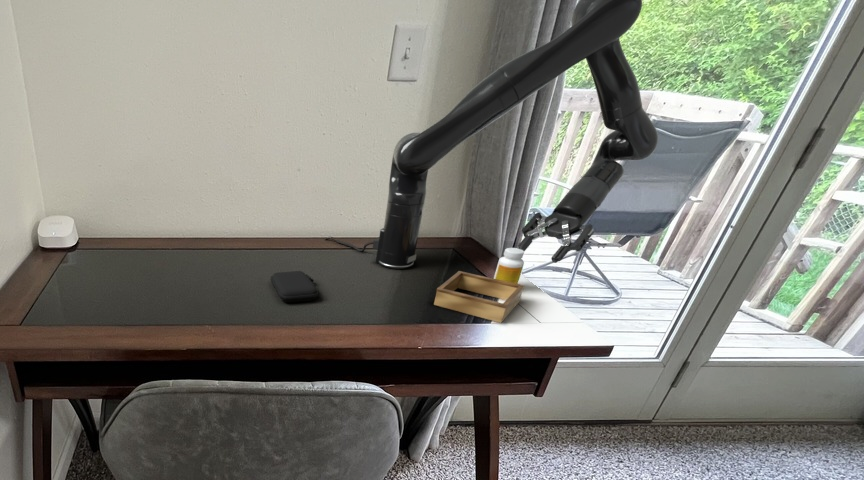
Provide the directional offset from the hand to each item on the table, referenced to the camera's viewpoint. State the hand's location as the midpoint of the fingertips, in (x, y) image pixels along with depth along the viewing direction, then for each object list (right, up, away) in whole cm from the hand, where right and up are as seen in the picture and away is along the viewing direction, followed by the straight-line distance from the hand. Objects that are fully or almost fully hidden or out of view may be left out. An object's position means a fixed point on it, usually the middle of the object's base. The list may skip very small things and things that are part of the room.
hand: (536, 255), depth 117 cm
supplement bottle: (-8, -8, 0) cm, 12 cm away
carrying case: (-59, -9, +3) cm, 60 cm away
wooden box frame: (-18, -13, -7) cm, 23 cm away
